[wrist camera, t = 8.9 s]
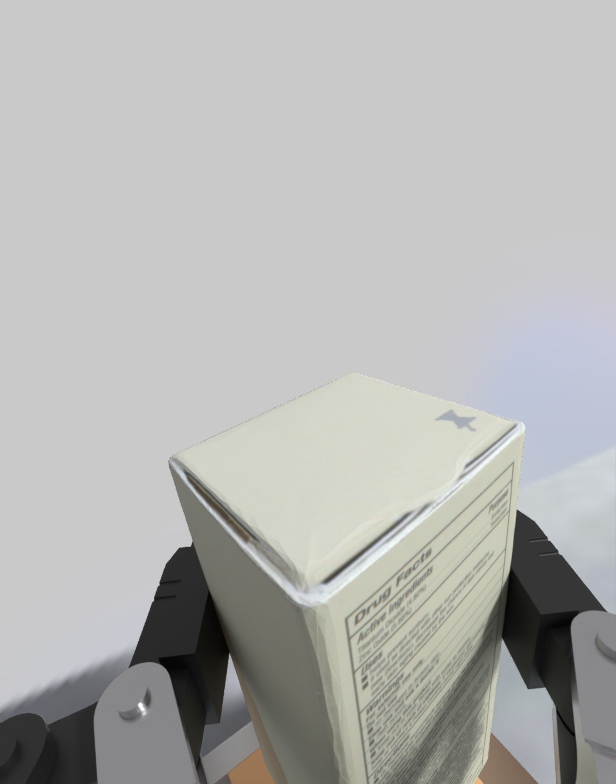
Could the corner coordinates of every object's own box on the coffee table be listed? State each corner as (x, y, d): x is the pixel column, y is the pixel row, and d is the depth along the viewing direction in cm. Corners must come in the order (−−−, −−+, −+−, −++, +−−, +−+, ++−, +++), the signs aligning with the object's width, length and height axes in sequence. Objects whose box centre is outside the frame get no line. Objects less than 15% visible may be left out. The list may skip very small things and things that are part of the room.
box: (378, 650, 14) (361, 363, 10) (494, 762, 11) (543, 413, 7) (255, 774, 12) (155, 448, 7) (363, 969, 8) (303, 602, 4)
